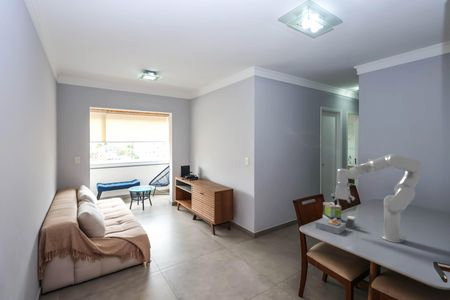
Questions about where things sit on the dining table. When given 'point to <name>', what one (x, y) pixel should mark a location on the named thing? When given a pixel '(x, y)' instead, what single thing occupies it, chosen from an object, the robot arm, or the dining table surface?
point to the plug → (350, 222)
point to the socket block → (330, 226)
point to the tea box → (331, 211)
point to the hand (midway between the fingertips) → (342, 206)
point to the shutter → (334, 222)
